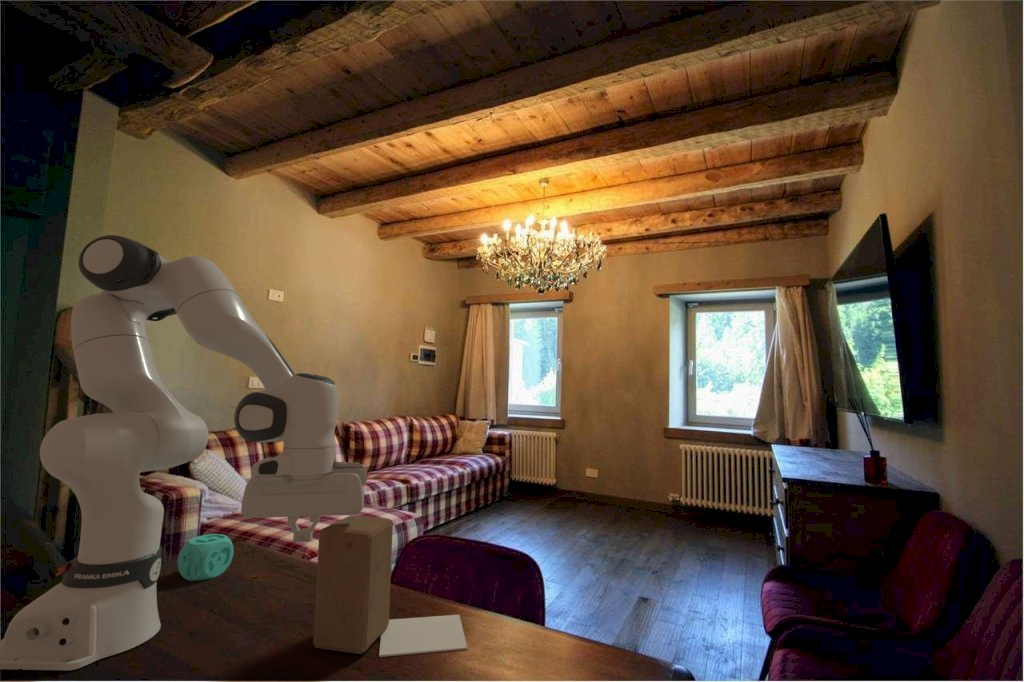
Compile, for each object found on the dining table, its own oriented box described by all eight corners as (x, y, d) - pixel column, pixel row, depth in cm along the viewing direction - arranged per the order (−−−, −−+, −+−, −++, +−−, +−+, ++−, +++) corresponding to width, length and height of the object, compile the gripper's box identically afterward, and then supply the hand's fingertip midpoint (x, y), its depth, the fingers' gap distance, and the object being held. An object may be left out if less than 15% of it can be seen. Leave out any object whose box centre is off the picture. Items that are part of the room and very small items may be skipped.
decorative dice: (174, 578, 104) (179, 541, 104) (206, 565, 111) (210, 532, 112) (201, 583, 101) (205, 546, 102) (232, 570, 109) (235, 536, 110)
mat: (378, 657, 76) (379, 655, 76) (382, 621, 88) (382, 620, 88) (467, 649, 79) (467, 647, 79) (459, 616, 91) (459, 614, 91)
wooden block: (363, 657, 75) (368, 533, 78) (310, 649, 77) (317, 529, 80) (390, 627, 85) (395, 517, 87) (342, 621, 87) (348, 514, 89)
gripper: (369, 459, 88) (364, 533, 86) (253, 460, 83) (246, 538, 82) (366, 464, 82) (361, 543, 80) (242, 465, 77) (234, 550, 76)
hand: (302, 541), depth 81 cm, fingers closed
